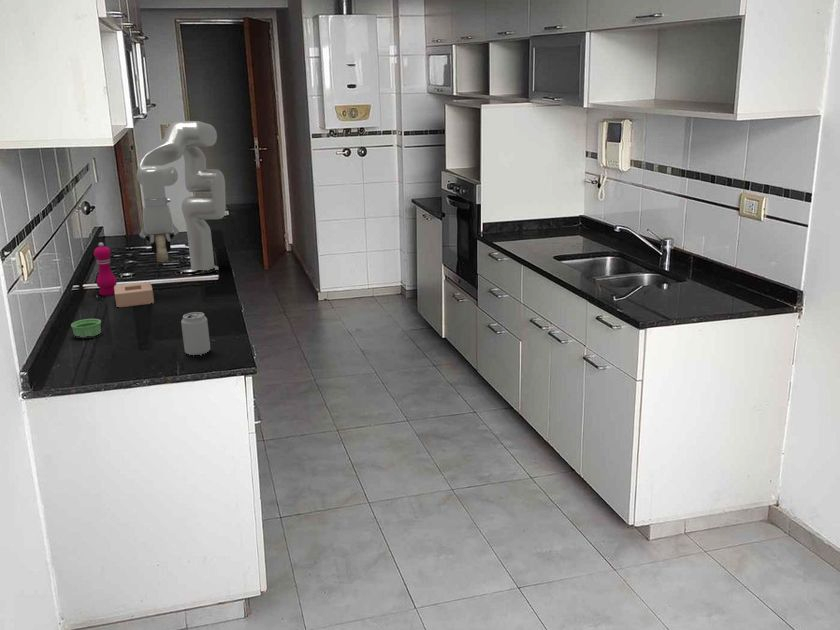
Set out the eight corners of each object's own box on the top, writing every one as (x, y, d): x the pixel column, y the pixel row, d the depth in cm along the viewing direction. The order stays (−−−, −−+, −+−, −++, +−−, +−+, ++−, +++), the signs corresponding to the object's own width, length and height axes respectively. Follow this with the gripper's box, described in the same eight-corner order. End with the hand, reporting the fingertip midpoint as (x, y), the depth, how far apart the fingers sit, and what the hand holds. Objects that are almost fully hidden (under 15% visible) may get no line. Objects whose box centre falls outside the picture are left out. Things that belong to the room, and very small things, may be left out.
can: (190, 348, 245) (186, 310, 241) (214, 348, 244) (210, 310, 241) (181, 356, 238) (176, 318, 234) (205, 357, 237) (201, 318, 233)
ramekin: (108, 331, 263) (106, 319, 262) (92, 340, 255) (90, 327, 254) (83, 330, 265) (81, 318, 264) (67, 339, 257) (65, 326, 255)
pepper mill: (115, 289, 314) (108, 239, 308) (120, 293, 308) (113, 242, 302) (96, 293, 310) (88, 242, 304) (100, 297, 304) (92, 245, 298)
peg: (156, 260, 298) (153, 233, 295) (167, 258, 300) (164, 232, 297) (157, 262, 295) (154, 235, 292) (168, 261, 296) (165, 234, 293)
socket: (115, 298, 301) (113, 285, 300) (152, 294, 306) (150, 281, 304) (116, 307, 289) (114, 294, 288) (154, 303, 294) (152, 290, 292)
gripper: (178, 199, 297) (183, 247, 303) (130, 203, 291) (137, 252, 297) (180, 202, 290) (186, 251, 296) (131, 206, 285) (138, 256, 290)
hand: (161, 251), depth 296 cm, fingers closed on peg, 4 cm apart
